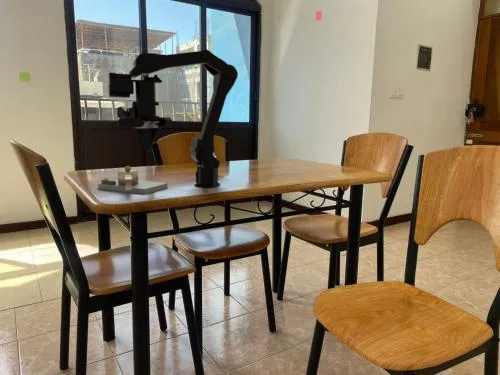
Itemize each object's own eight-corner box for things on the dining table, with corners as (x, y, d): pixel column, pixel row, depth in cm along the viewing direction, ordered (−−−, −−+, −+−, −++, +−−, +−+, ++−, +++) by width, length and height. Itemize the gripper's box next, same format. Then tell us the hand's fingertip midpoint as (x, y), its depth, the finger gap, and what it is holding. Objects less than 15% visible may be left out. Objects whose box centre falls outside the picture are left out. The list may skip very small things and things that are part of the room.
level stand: (167, 187, 121) (167, 175, 120) (144, 194, 111) (144, 180, 110) (123, 183, 128) (122, 171, 127) (98, 188, 118) (97, 176, 117)
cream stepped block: (139, 189, 108) (139, 171, 107) (117, 190, 106) (116, 172, 105) (137, 180, 124) (137, 164, 123) (118, 180, 122) (117, 164, 121)
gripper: (144, 99, 125) (146, 147, 127) (101, 97, 108) (104, 152, 111) (172, 99, 120) (173, 149, 123) (132, 96, 103) (135, 154, 106)
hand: (147, 150), depth 116 cm, fingers closed
